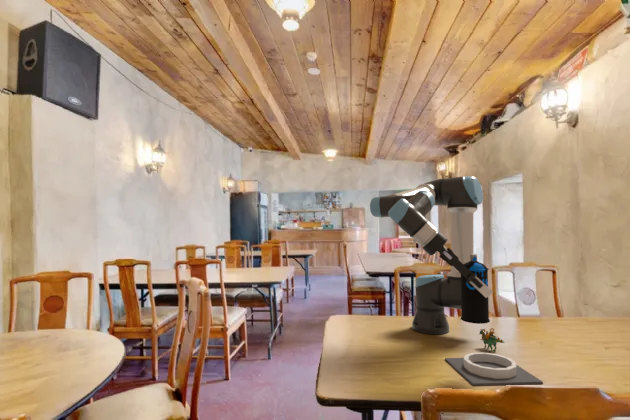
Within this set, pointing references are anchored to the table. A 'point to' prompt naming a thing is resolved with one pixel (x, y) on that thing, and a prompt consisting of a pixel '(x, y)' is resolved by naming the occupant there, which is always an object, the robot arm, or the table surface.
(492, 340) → the figurine
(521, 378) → the can holder
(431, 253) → the robot arm
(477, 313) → the aerosol can
